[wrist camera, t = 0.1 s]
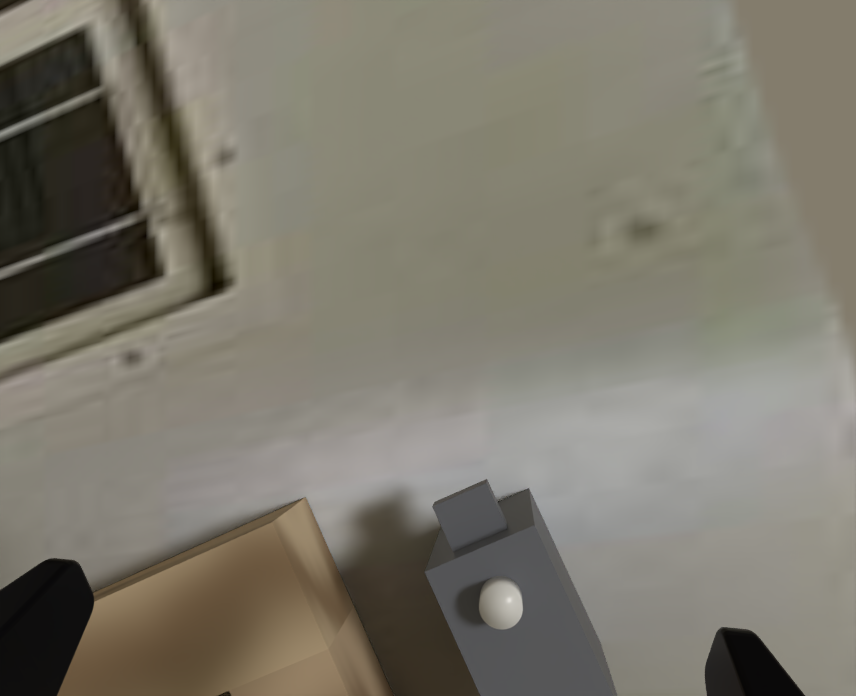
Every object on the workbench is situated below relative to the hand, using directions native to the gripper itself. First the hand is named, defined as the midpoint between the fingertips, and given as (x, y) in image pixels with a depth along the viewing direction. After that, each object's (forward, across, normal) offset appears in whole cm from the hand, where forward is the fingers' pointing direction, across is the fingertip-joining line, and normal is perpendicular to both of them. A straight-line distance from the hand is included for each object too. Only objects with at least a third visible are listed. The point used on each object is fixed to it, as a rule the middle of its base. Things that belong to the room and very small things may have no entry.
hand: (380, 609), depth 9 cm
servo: (+10, -2, +12) cm, 16 cm away
